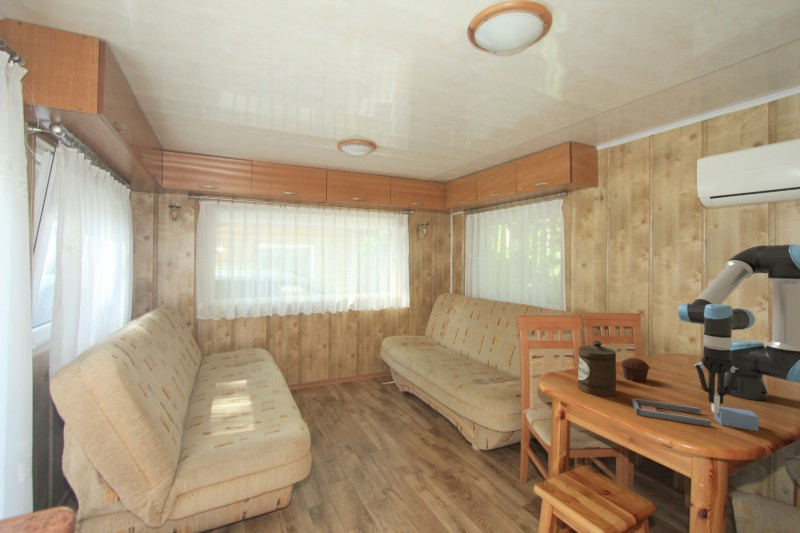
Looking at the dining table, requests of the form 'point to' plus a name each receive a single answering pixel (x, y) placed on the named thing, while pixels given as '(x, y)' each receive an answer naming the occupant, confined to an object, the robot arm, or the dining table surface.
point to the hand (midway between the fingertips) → (715, 411)
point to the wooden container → (597, 370)
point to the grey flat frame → (650, 411)
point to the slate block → (737, 418)
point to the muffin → (635, 369)
